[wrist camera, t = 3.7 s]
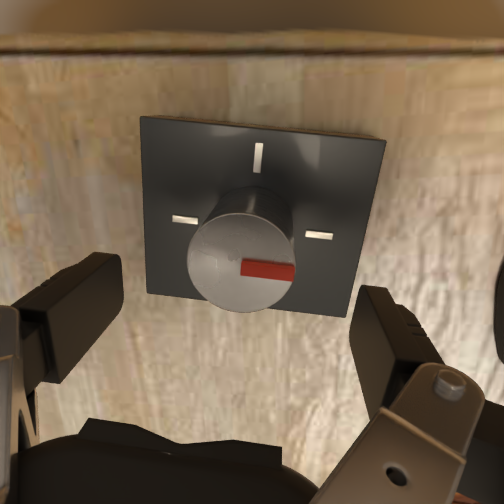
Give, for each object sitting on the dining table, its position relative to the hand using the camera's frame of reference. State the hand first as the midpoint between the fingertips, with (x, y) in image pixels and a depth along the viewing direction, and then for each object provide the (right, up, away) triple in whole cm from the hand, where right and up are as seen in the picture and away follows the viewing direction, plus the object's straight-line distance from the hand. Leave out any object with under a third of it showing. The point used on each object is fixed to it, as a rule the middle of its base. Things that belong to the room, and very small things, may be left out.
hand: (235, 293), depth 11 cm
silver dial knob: (+1, +3, +7) cm, 7 cm away
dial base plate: (+1, +4, +10) cm, 10 cm away
